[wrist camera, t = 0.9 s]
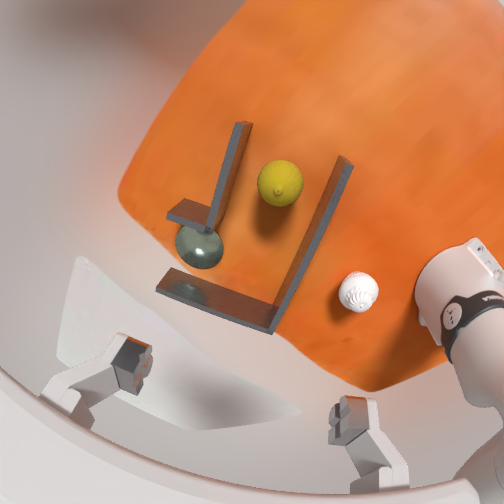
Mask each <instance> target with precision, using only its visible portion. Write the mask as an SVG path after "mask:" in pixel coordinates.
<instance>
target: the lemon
mask: <svg viewBox="0 0 504 504" xmlns="http://www.w3.org/2000/svg"><path fill="white" fill-rule="evenodd" d="M257 186H258V190H259V193H260V195H261V197H262V198H263V199H264V200H265V201H266V202H267V203H269V204H271V205H274V206H279V207H280V206H286V205H289V204H291V203H293V202H294V201H295V200H296V199H297V198H298V197H299V196H300V194H301V192H302V189H303V177H302V174H301V172H300V170H299V169H298V168H297V167H296V166H295V165H294V164H293V163H291V162H289V161H285V160H275V161H272V162H270V163H268V164H267V165H265V166H264V167H263V168H262V170H261V172H260V173H259V176H258V182H257Z"/></svg>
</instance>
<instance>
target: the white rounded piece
mask: <svg viewBox="0 0 504 504" xmlns="http://www.w3.org/2000/svg"><path fill="white" fill-rule="evenodd" d="M377 296H378V286H377V283H376V282H375V280H374V279H373V278H372V277H371V276H369V275H368V274H365V273H362V272H358V271H357V272H356V271H355V272H352V273H350V274H349V275H348V276H347V277H346V278H345V279H344V280H343V282H342V285H341V286H340V289H339V299H340V301H341V303H342V304H343V305H344V306H345V307H346V308H348V309H351V310H353V311H354V312H357V313H359V312H361V313H362V312H363V311H366V310H367V309H370V306H372V304H373V303H374V302H375V300H376V298H377Z"/></svg>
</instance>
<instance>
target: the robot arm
mask: <svg viewBox="0 0 504 504" xmlns="http://www.w3.org/2000/svg"><path fill="white" fill-rule="evenodd" d="M478 248H479V249H478ZM415 301H416V304H417V306H418V308H419V317H418V320H419V322H420V324H421V325H422V326H427V327H428V329H429V331H430V333H431V335H432V337H433V339H434V340H435V342H436V344H437V345H438V346H443V349H444V353H445V355H446V357H447V358H448V360H449V362H450V363H451V364H453V365H454V368H455V371H456V374H457V376H458V379H459V382H460V385H461V388H462V391H463V394H464V397H465V399H466V400H467V401H468V403H470V404H471V405H473V406H476V407H483V408H486V407H492V406H494V407H495V408H496V409H497V411H498V412H499V414H500V415H501V417H502V420H503V428H502V429H501V430H500V431H499V432H498V433H497V434H496V435H495V436H493V437H492V438H491V439H490V440H489V441H488V442H486V443H485V444H484V445H483V446H482V447H480V448H479V449H478V450H477V451H476V452H475V453H474V454H473V455H472V456H471V457H470V458H469V459H468V460H467V461H466V463H465V464H464V465H463V466H462V467H461V468H460V470H459V471H458V472H457V473H456V474H455V476H454V478H453V479H452V480H450V481H446V482H442V483H438V484H433V485H428V486H423V487H418V488H412V489H410V488H409V473H408V464H407V463H406V462H405V460H404V459H403V458H402V456H401V455H400V454H399V452H398V451H397V449H396V448H395V447H394V446H393V444H392V443H391V441H390V440H389V439H388V437H387V436H386V435H385V433H384V432H383V431H380V426H379V417H378V409H377V401H376V400H375V399H371V398H363V397H353V396H342V397H341V398H340V403H337V404H335V405H334V406H333V407H332V409H331V411H330V415H329V424H330V425H331V427H332V428H331V429H330V430H329V437H328V444H331V445H340V446H345V448H346V450H347V452H348V453H349V455H350V457H351V459H352V461H353V463H354V465H355V467H356V468H357V471H358V472H359V474H360V476H361V478H359V479H357V480H355V481H353V482H352V483H351V484H350V494H309V493H294V492H285V491H276V490H268V489H262V488H256V487H250V486H244V485H239V484H234V483H229V482H225V481H221V480H217V479H213V478H209V477H205V476H201V475H198V474H194V473H191V472H188V471H185V470H181V469H178V468H175V467H172V466H169V465H167V464H163V463H161V462H158V461H156V460H153V459H150V458H148V457H145V456H143V455H140V454H138V453H136V452H134V451H131V450H129V449H127V448H125V447H122V446H120V445H118V444H116V443H114V442H112V441H110V440H108V439H106V438H104V437H102V436H100V435H98V434H96V433H94V432H93V431H91V430H90V429H91V427H92V425H93V423H94V421H95V419H94V417H93V415H92V413H91V412H90V410H89V408H90V407H92V406H93V405H95V404H97V403H98V402H100V401H102V400H104V399H105V398H107V397H109V396H110V395H112V394H114V393H115V392H117V391H119V390H120V389H122V390H124V391H127V392H129V393H132V394H134V395H137V396H138V394H139V392H140V390H141V388H142V386H143V378H145V377H147V376H148V375H149V373H150V370H151V367H152V363H153V357H152V355H151V352H152V346H151V345H149V344H146V343H144V342H141V341H139V340H136V339H134V338H132V337H130V336H127V335H125V334H123V333H120V332H119V333H118V334H116V335H115V337H114V338H113V340H112V341H111V342H110V344H109V345H108V347H107V348H106V350H105V351H104V353H103V354H102V355H101V357H100V358H99V359H98V358H94V359H92V360H90V361H87V362H85V363H83V364H80V365H78V366H76V367H73V368H71V369H68V370H66V371H64V372H61V373H59V374H56V375H54V376H53V377H52V379H51V380H50V381H49V383H48V384H47V386H46V387H45V389H44V390H43V391H42V393H41V394H40V396H39V397H37V396H36V395H34V394H33V393H32V392H30V391H29V390H28V389H27V388H25V387H24V386H23V385H21V384H20V383H19V382H18V381H16V380H15V379H14V378H13V377H12V376H10V375H9V374H8V373H7V372H6V371H5V370H3V369H2V368H1V367H0V504H504V270H503V269H502V267H501V266H500V265H499V263H498V262H497V261H496V259H495V258H494V257H493V256H492V254H491V253H490V252H489V251H488V249H487V248H486V247H485V246H484V245H483V243H482V242H481V241H480V240H479V239H478V238H476V237H475V238H472V239H470V240H469V241H467V242H466V243H465V244H463V245H461V246H456V247H452V248H449V249H447V250H444V251H442V252H441V253H439V254H438V255H436V256H435V257H434V258H433V259H432V260H431V261H430V262H429V263H428V264H427V265H426V266H425V268H424V269H423V271H422V272H421V274H420V276H419V278H418V280H417V283H416V287H415Z"/></svg>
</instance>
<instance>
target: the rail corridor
mask: <svg viewBox="0 0 504 504" xmlns="http://www.w3.org/2000/svg"><path fill="white" fill-rule="evenodd" d="M252 124H253V123H250V122H247V121H242V122H236V123H235V125H234V128H233V131H232V135H231V138H230V141H229V144H228V148H227V151H226V154H225V158H224V161H223V165H222V168H221V172H220V175H219V179H218V182H217V186H216V189H215V193H214V197H213V200H212V204H211V207H208V206H205V205H202V204H200V203H197V202H194V201H191V200H188V199H185V198H184V199H183V200H182V201H181V202H179V203H178V204H177V205H176V206H174V207H173V208H172V209H171V210H170V211H168V212H167V217H166V219H167V220H170V221H173V222H176V223H178V224H181V225H184V227H182V228H181V229H180V230H179V232H178V234H177V236H176V248H177V251H178V253H179V255H180V256H181V258H182V259H183V260H184V261H185V262H186V263H188V264H189V265H191V266H193V267H196V268H201V269H206V268H210V267H213V266H215V265H216V264H217V263H218V262H219V261H220V260H221V258H222V255H223V243H222V240H221V238H220V236H219V235H218V234H217V233H216V231H215V229H216V228H217V226H218V225H219V224H220V222H221V221H222V219H223V217H224V214H225V211H226V207H227V204H228V200H229V197H230V194H231V190H232V187H233V184H234V181H235V177H236V174H237V171H238V168H239V165H240V161H241V158H242V155H243V152H244V149H245V146H246V143H247V139H248V136H249V133H250V130H251V127H252ZM353 168H354V166H353V165H352V164H351V163H350V162H349V161H348V160H347V159H346V158H345V157H342V156H340V155H339V157H338V159H337V162H336V164H335V167H334V169H333V172H332V174H331V176H330V179H329V181H328V183H327V186H326V188H325V191H324V193H323V195H322V198H321V200H320V202H319V205H318V207H317V209H316V212H315V214H314V216H313V218H312V221H311V223H310V225H309V227H308V230H307V232H306V234H305V236H304V239H303V241H302V243H301V245H300V248H299V250H298V252H297V254H296V256H295V258H294V261H293V263H292V265H291V267H290V269H289V271H288V274H287V276H286V278H285V280H284V282H283V284H282V286H281V288H280V291H279V293H278V295H277V297H276V299H275V301H274V303H273V305H271V304H268V303H266V302H263V301H260V300H257V299H254V298H251V297H249V296H246V295H243V294H240V293H238V292H235V291H232V290H229V289H227V288H224V287H221V286H219V285H216V284H213V283H211V282H208V281H205V280H203V279H200V278H197V277H195V276H192V275H190V274H187V273H184V272H182V271H179V270H177V269H174V268H172V267H171V268H170V269H169V271H168V272H167V273H166V274H165V276H164V277H163V279H162V280H161V281H160V282H159V284H158V285H157V287H156V292H158V293H160V294H163V295H165V296H167V297H170V298H172V299H175V300H177V301H180V302H182V303H185V304H187V305H190V306H193V307H195V308H197V309H200V310H203V311H205V312H208V313H210V314H213V315H216V316H219V317H221V318H224V319H227V320H229V321H232V322H235V323H238V324H241V325H243V326H246V327H249V328H252V329H255V330H258V331H261V332H264V333H267V334H270V335H272V334H273V333H274V331H275V329H276V327H277V325H278V323H279V321H280V320H281V318H282V316H283V314H284V312H285V310H286V308H287V306H288V305H289V303H290V301H291V299H292V297H293V295H294V293H295V291H296V289H297V287H298V285H299V283H300V281H301V279H302V277H303V275H304V273H305V271H306V269H307V267H308V265H309V263H310V261H311V259H312V257H313V255H314V253H315V251H316V249H317V247H318V245H319V243H320V241H321V239H322V237H323V234H324V232H325V230H326V228H327V226H328V224H329V222H330V219H331V217H332V215H333V213H334V211H335V209H336V206H337V204H338V202H339V200H340V197H341V195H342V193H343V191H344V188H345V186H346V184H347V182H348V179H349V177H350V175H351V172H352V170H353Z"/></svg>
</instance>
